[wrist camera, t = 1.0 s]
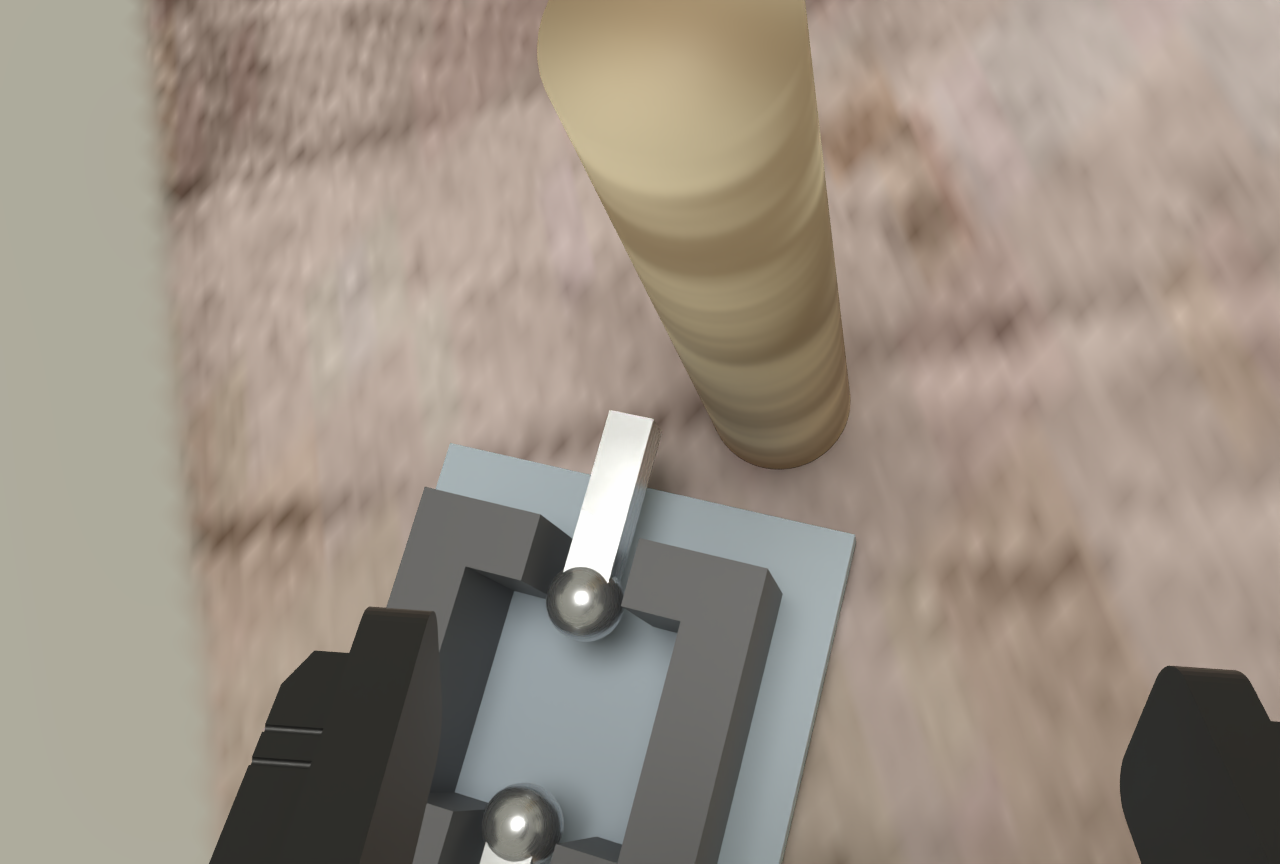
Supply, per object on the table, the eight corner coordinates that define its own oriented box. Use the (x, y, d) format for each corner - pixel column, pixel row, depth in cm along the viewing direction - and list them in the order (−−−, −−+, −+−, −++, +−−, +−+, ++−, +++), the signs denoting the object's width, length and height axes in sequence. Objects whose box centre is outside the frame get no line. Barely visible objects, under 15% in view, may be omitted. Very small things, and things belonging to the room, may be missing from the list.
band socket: (461, 451, 36) (396, 402, 31) (856, 542, 33) (849, 501, 28) (323, 893, 33) (228, 912, 28) (741, 1038, 30) (712, 1086, 25)
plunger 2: (620, 654, 31) (602, 646, 29) (548, 635, 31) (526, 626, 29) (679, 439, 32) (665, 417, 30) (609, 424, 32) (591, 402, 31)
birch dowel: (730, 326, 35) (579, -97, 18) (864, 350, 34) (834, -73, 17) (696, 453, 34) (504, 132, 17) (832, 482, 33) (768, 172, 16)
